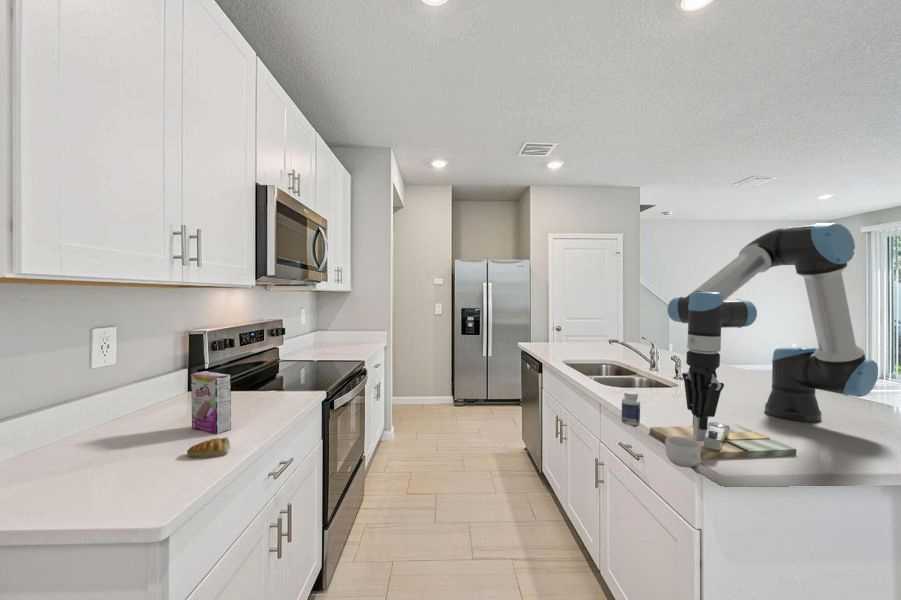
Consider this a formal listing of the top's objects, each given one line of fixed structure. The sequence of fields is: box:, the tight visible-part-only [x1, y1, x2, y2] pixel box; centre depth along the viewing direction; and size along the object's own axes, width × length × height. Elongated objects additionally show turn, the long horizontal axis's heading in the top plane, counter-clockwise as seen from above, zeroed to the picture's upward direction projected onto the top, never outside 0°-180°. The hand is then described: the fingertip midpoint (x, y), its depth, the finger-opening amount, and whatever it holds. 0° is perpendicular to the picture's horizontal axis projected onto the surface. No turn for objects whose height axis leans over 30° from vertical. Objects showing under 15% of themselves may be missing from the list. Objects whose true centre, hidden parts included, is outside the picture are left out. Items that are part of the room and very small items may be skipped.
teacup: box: [664, 436, 702, 468], centre depth 106 cm, size 10×8×5 cm
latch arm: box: [704, 421, 730, 450], centre depth 116 cm, size 16×5×4 cm, turn 143°
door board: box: [649, 424, 797, 460], centre depth 121 cm, size 28×20×2 cm
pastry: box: [186, 436, 231, 459], centre depth 110 cm, size 9×7×4 cm
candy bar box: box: [190, 370, 232, 435], centre depth 128 cm, size 11×5×16 cm, turn 65°
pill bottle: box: [620, 390, 641, 426], centre depth 138 cm, size 5×5×10 cm
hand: (699, 440), depth 115 cm, fingers closed
